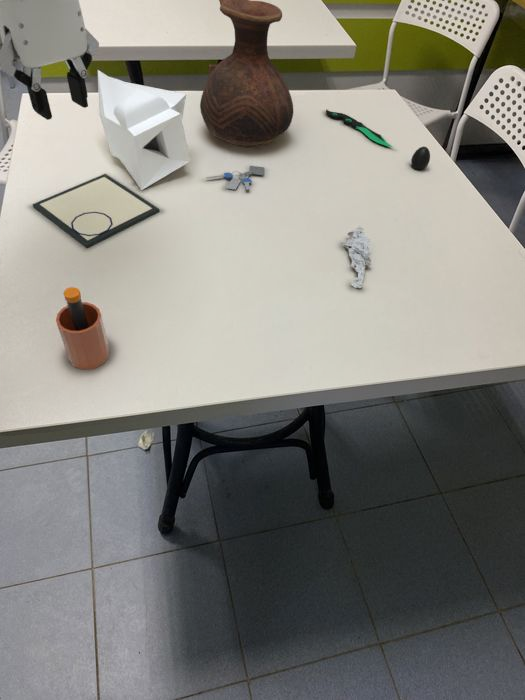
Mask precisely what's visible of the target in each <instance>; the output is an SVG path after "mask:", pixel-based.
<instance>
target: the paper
mask: <svg viewBox="0 0 525 700" xmlns="http://www.w3.org/2000/svg"><path fill="white" fill-rule="evenodd" d="M364 230H365V229H364V227H362V226H361V225H359V226H358V227H357V228H356V229H353V230H351V231H349V232H347V235H348V236H349V238H348V239H347V240H346V242H345V243H343V244H342V246H343V247H344V248H345V249H347V251H348V255H349V258H350V260H351V264H350V266H351V267H352V268H353V269H354V270H355V272H356V273H357V277H356V278H355V279H354V280H352V281H351V286H352V287H353V288H354V289H362V288H363V286H364V284H363V281H364V277H365V273H366V270H365V269H366V266H368V265H371V266H372V263H373V262H372V260H371V258H370V255H369V254H370V253H371V248H370V246H369V245H370V244H371V242H372V239H371V238H369V237H368V236H367V235H366V234H365V232H364Z"/></svg>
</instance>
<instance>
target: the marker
mask: <svg viewBox="0 0 525 700" xmlns="http://www.w3.org/2000/svg"><path fill="white" fill-rule="evenodd" d="M63 297H64V300H65V302H66V304H67V305H68V308H69V311H70V314H71V318H72V321H73V324H74V328H75V331H80V330H84V329H87V328H89V327H88V323H87V320H86V316H85V312H84V308H83V305H82V302H83V300H82V293H81V291H80V289H79V288H78V287H75V286H71V287H67V288H66V289H65V290H64V291H63Z"/></svg>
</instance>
